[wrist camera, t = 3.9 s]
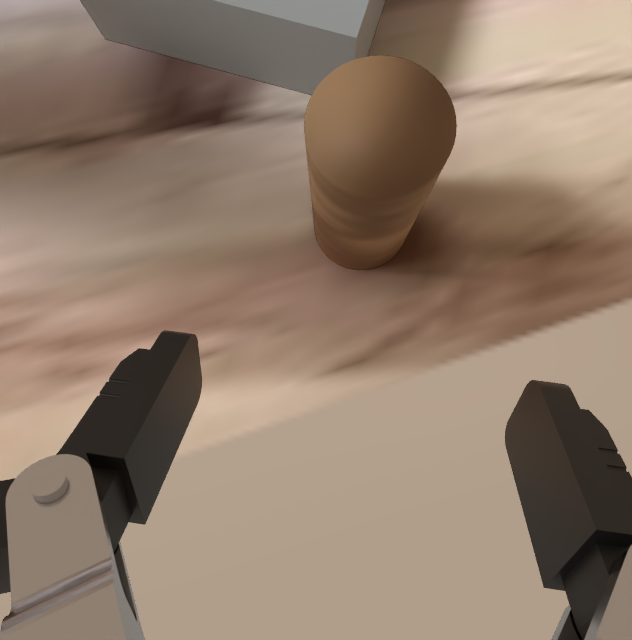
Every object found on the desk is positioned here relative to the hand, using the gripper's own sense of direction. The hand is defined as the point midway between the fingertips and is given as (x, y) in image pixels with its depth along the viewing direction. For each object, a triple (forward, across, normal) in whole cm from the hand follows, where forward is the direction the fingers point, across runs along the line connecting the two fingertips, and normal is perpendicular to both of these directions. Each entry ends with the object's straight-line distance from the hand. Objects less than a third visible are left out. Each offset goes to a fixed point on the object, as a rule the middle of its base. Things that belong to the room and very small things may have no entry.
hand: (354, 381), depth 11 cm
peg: (+15, 0, +3) cm, 15 cm away
